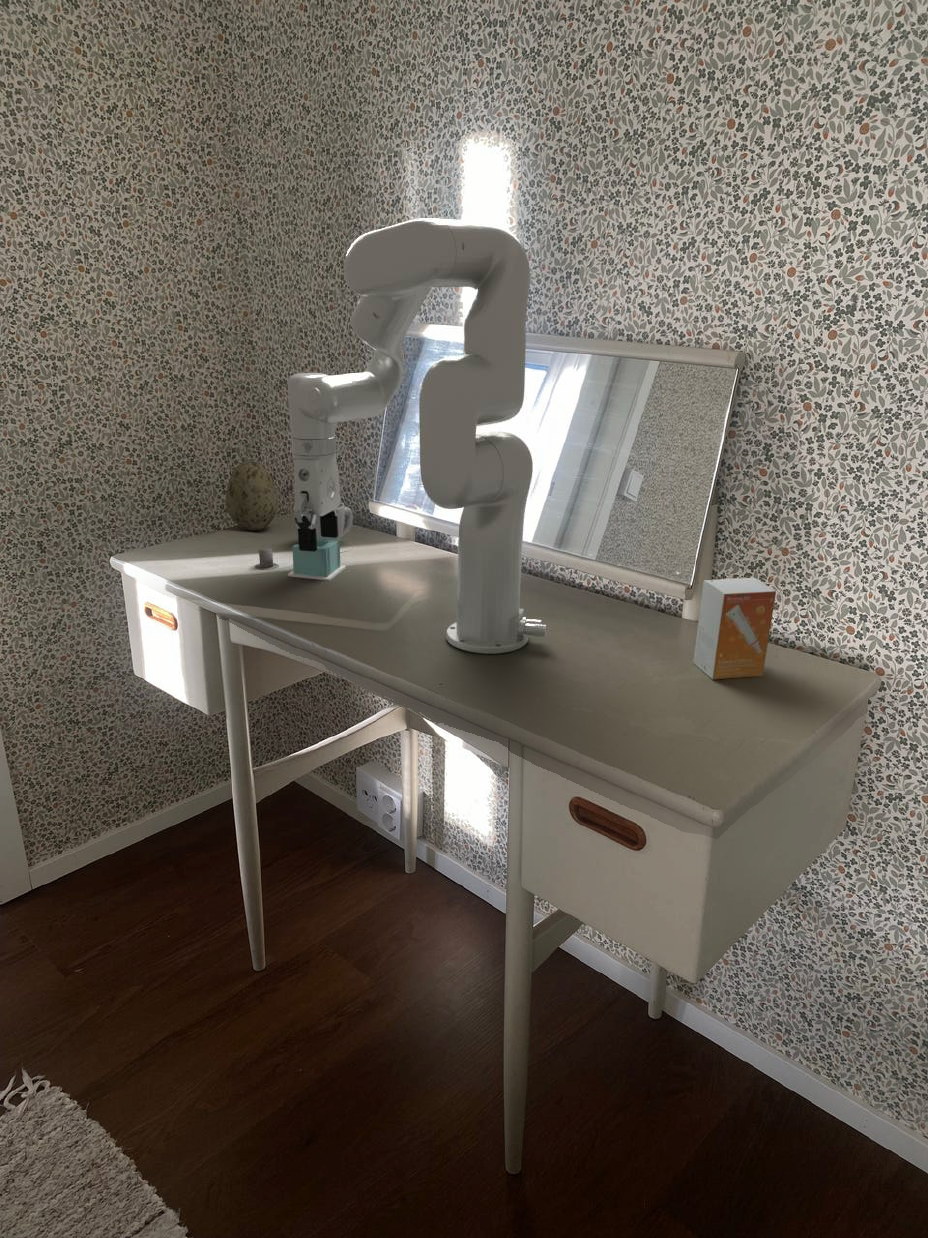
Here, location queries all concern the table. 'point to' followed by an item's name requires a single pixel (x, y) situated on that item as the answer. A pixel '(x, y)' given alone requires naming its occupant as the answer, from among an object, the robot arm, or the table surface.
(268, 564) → the stand
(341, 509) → the mug
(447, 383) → the robot arm
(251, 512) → the decorative egg
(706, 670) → the small box
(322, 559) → the c link
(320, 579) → the pad
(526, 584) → the table surface
